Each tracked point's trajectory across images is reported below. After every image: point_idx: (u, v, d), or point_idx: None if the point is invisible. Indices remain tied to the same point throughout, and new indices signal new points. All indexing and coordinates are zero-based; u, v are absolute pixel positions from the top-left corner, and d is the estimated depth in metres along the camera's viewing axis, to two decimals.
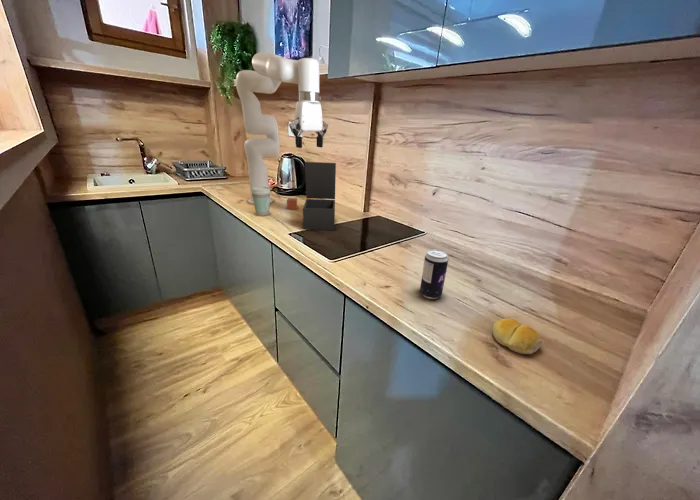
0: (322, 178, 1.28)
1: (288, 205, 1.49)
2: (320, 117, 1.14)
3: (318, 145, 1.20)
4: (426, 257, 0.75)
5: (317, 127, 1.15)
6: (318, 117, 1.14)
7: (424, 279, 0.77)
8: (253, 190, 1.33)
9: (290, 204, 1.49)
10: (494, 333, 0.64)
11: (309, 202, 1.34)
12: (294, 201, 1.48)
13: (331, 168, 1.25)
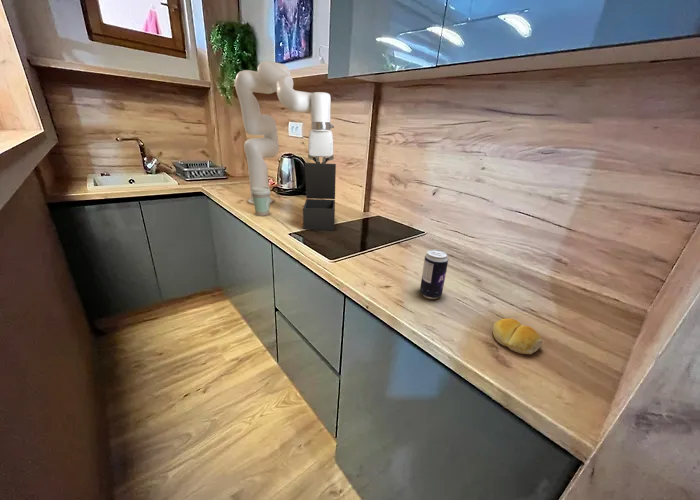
0: (322, 179, 1.27)
1: None
2: (329, 144, 1.22)
3: None
4: (426, 257, 0.75)
5: (326, 153, 1.23)
6: (326, 144, 1.21)
7: (424, 279, 0.77)
8: (253, 190, 1.33)
9: None
10: (494, 333, 0.64)
11: (309, 202, 1.34)
12: None
13: (331, 169, 1.25)
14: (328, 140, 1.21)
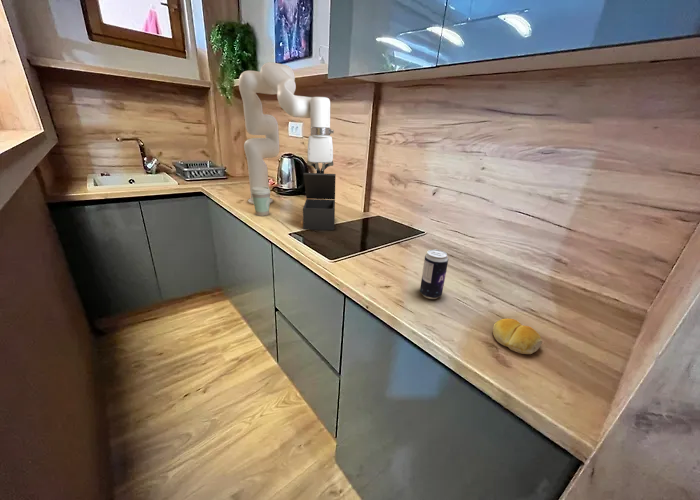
0: (322, 185, 1.25)
1: None
2: (329, 150, 1.18)
3: None
4: (426, 257, 0.75)
5: (325, 159, 1.20)
6: (326, 150, 1.18)
7: (424, 279, 0.77)
8: (253, 190, 1.33)
9: None
10: (494, 333, 0.64)
11: (309, 202, 1.34)
12: None
13: (331, 178, 1.21)
14: (328, 146, 1.18)
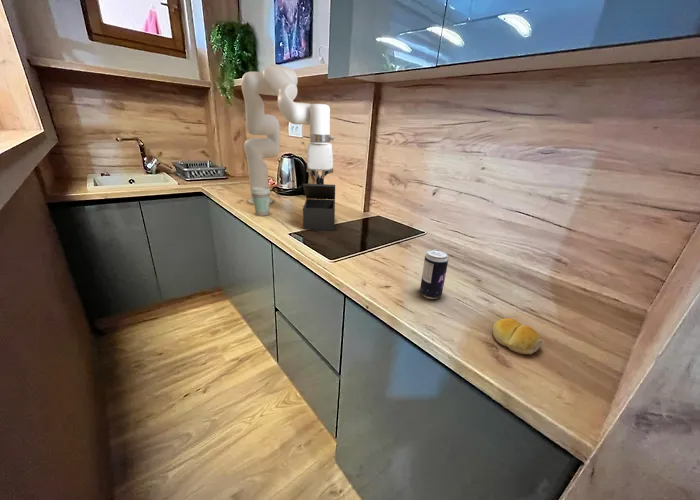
0: (321, 191, 1.24)
1: None
2: (329, 157, 1.17)
3: None
4: (426, 257, 0.75)
5: (325, 166, 1.18)
6: (326, 157, 1.17)
7: (424, 279, 0.77)
8: (253, 190, 1.33)
9: None
10: (494, 333, 0.64)
11: (309, 202, 1.34)
12: None
13: (330, 188, 1.20)
14: (327, 153, 1.16)
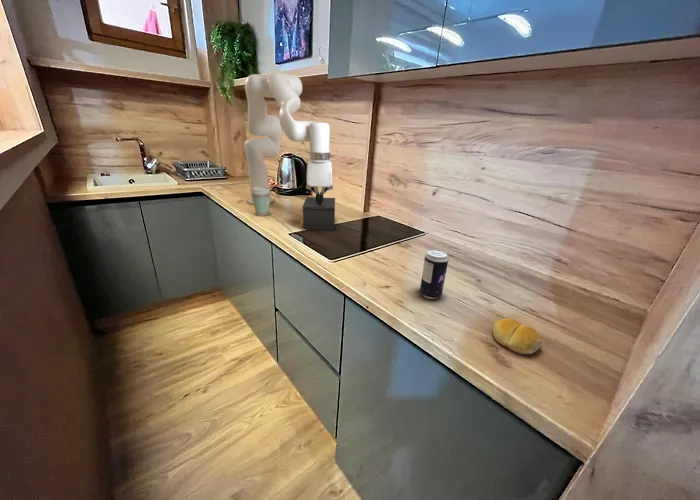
0: None
1: None
2: (328, 174, 1.17)
3: (319, 201, 1.24)
4: (426, 257, 0.75)
5: (324, 183, 1.19)
6: (325, 174, 1.17)
7: (424, 279, 0.77)
8: (253, 190, 1.33)
9: None
10: (494, 333, 0.64)
11: None
12: None
13: None
14: (327, 170, 1.17)
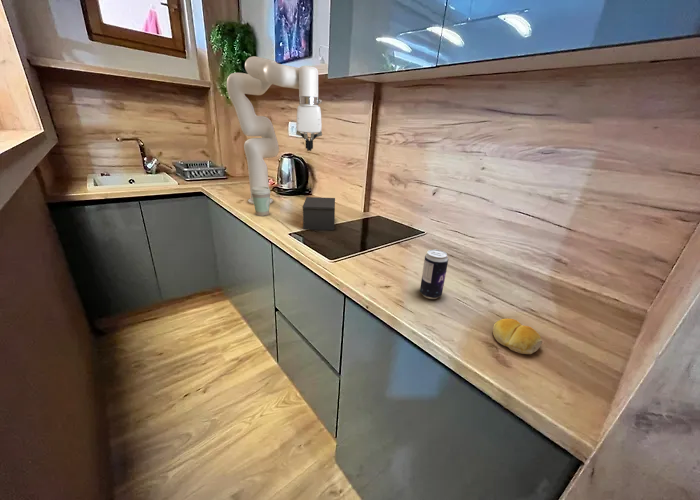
0: None
1: None
2: (317, 119, 1.21)
3: None
4: (426, 257, 0.75)
5: (314, 129, 1.23)
6: (314, 119, 1.21)
7: (424, 279, 0.77)
8: (253, 190, 1.33)
9: None
10: (494, 333, 0.64)
11: None
12: None
13: None
14: (316, 115, 1.21)
